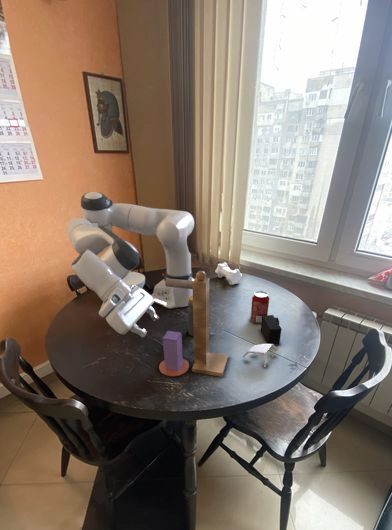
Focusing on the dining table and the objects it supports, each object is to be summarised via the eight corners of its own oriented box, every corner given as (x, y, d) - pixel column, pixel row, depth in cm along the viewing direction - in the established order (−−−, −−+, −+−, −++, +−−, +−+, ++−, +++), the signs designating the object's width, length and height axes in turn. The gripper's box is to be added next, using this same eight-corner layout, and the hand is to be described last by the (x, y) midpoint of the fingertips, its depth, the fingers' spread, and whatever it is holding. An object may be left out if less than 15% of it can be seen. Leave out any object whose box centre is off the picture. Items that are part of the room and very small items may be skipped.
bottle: (192, 337, 115) (191, 302, 107) (185, 330, 120) (184, 296, 112) (205, 333, 117) (205, 299, 109) (198, 327, 122) (198, 293, 114)
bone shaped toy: (242, 283, 159) (243, 269, 154) (228, 287, 156) (229, 272, 151) (227, 274, 170) (227, 260, 166) (214, 277, 167) (214, 263, 163)
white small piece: (260, 373, 97) (261, 360, 94) (241, 361, 102) (242, 349, 100) (283, 358, 103) (285, 346, 101) (264, 347, 109) (265, 336, 106)
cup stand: (167, 367, 100) (159, 274, 83) (177, 350, 108) (171, 262, 91) (222, 376, 96) (225, 280, 78) (228, 358, 104) (232, 267, 86)
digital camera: (282, 344, 110) (285, 328, 106) (268, 345, 110) (270, 329, 106) (273, 330, 119) (276, 314, 115) (260, 330, 119) (262, 315, 115)
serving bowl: (121, 281, 165) (120, 269, 161) (154, 287, 157) (153, 275, 153) (95, 296, 149) (92, 283, 145) (130, 304, 141) (127, 290, 137)
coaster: (153, 370, 99) (152, 369, 99) (170, 354, 106) (170, 353, 106) (178, 380, 95) (178, 379, 94) (194, 363, 102) (194, 362, 102)
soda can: (266, 325, 122) (269, 298, 116) (249, 323, 124) (252, 297, 117) (266, 317, 128) (269, 291, 122) (250, 315, 129) (252, 290, 123)
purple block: (162, 338, 93) (176, 340, 91) (167, 330, 96) (181, 332, 95) (165, 368, 99) (178, 371, 98) (170, 360, 103) (182, 362, 102)
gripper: (128, 288, 102) (157, 317, 105) (95, 317, 85) (131, 350, 88) (138, 277, 98) (169, 307, 101) (106, 304, 82) (144, 339, 85)
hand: (151, 327), depth 94 cm, fingers open, 8 cm apart
